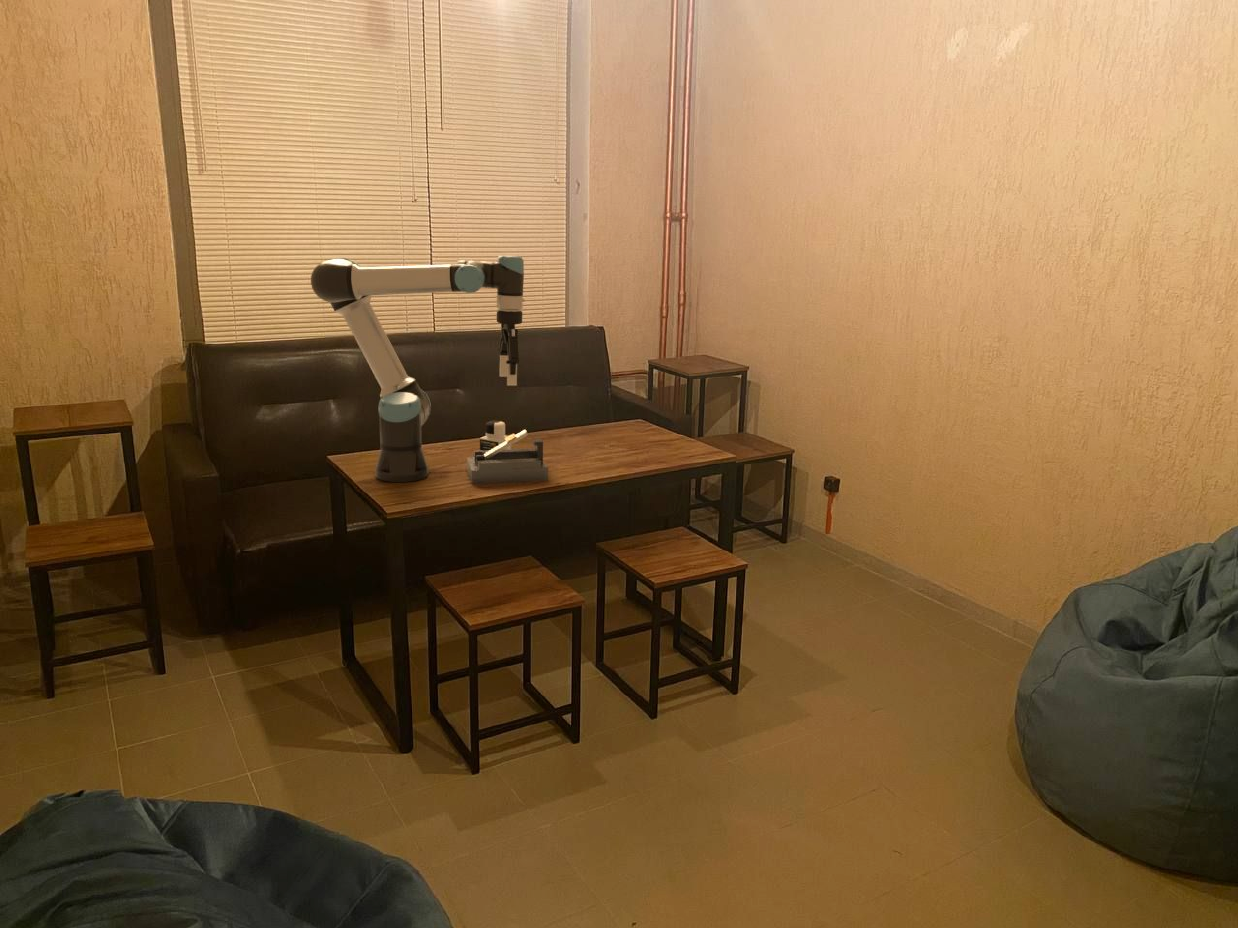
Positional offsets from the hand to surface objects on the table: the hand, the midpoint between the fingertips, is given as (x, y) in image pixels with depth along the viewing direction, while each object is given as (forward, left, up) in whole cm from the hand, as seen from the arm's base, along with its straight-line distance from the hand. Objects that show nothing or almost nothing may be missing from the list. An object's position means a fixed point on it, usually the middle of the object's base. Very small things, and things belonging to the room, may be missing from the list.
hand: (507, 381), depth 269 cm
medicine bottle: (-3, +7, -26) cm, 27 cm away
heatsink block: (-2, -11, -26) cm, 29 cm away
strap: (-3, -11, -18) cm, 21 cm away
